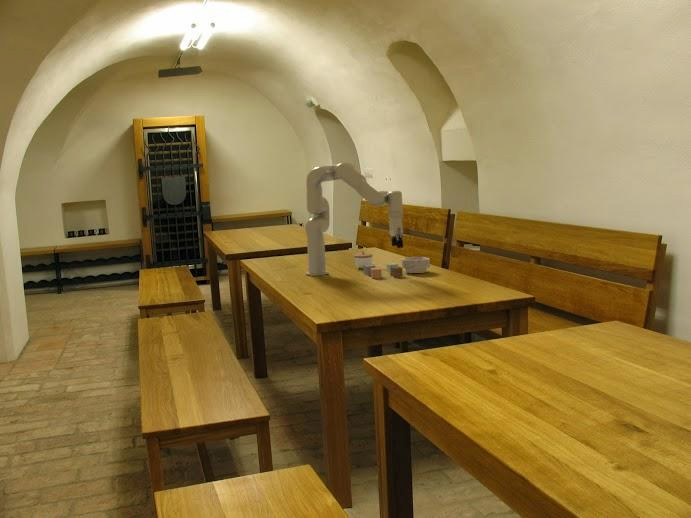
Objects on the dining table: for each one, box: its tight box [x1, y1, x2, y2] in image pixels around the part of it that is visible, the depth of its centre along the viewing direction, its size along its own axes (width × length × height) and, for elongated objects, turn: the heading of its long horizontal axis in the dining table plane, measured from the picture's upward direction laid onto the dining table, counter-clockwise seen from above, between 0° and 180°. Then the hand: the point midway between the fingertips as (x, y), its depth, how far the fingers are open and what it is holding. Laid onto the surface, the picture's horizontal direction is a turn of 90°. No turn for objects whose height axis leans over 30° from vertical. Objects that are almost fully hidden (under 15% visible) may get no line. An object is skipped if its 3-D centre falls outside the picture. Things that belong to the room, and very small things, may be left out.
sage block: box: [385, 262, 399, 274], centre depth 390 cm, size 5×5×5 cm
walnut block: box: [390, 265, 404, 278], centre depth 378 cm, size 5×5×5 cm
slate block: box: [362, 264, 376, 276], centre depth 387 cm, size 5×5×5 cm
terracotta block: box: [370, 267, 383, 279], centre depth 377 cm, size 5×5×5 cm
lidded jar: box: [353, 251, 373, 270], centre depth 409 cm, size 11×11×9 cm
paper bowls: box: [401, 256, 431, 274], centre depth 388 cm, size 15×15×8 cm
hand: (397, 246), depth 376 cm, fingers open, 9 cm apart
